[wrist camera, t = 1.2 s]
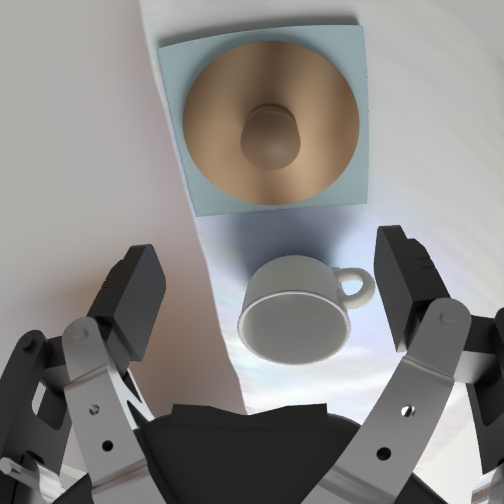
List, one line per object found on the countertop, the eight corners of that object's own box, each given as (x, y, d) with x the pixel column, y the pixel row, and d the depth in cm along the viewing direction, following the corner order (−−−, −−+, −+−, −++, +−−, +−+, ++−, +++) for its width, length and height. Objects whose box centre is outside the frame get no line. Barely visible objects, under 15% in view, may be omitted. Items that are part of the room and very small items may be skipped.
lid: (351, 36, 19) (368, 36, 15) (357, 194, 28) (370, 224, 24) (170, 56, 21) (148, 62, 17) (204, 207, 30) (192, 237, 26)
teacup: (269, 321, 40) (267, 374, 34) (225, 260, 35) (214, 317, 28) (376, 286, 36) (392, 340, 29) (350, 212, 30) (369, 266, 24)
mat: (359, 25, 19) (363, 25, 19) (364, 198, 29) (366, 203, 28) (161, 48, 22) (157, 48, 21) (198, 211, 31) (196, 216, 30)
